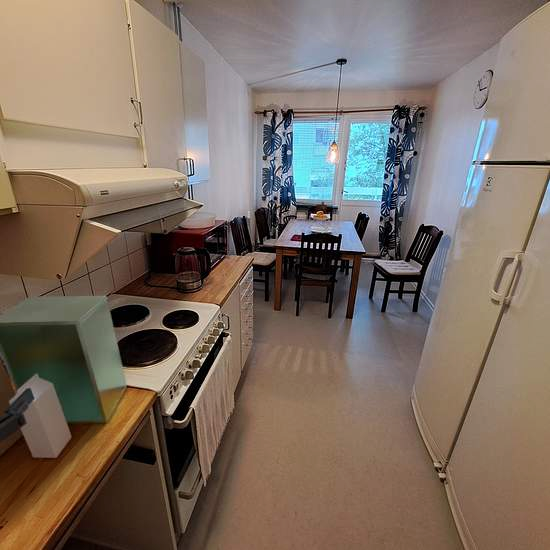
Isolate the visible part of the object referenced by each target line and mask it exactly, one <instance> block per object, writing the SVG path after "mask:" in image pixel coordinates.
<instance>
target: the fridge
mask: <svg viewBox="0 0 550 550" xmlns="http://www.w3.org/2000/svg"><path fill="white" fill-rule="evenodd" d="M0 357H1V358H2V360H3V361H2V362H3V363H4V367H6V368H5V369H6V370H7V372H8V373H7V374H8V376H9V378H10V381H11V382H12V384H13V385H12V386H13V388H14V390H15V393H17V390H18V389H19V388H20V387H22V386H23V385H24V384H25V383H26V382H27V381H28V380H29V379H31V378H32V377H33V376H34V375H35V374H38V376H39V378H41V379H44V380H46V381H49V382H51V383H53V385H54V388H55V391H56V394H57V397H58V400H59V402H60V405H61V408H62V411H63V414H64V416H65V419H66V422H67V425H80V424H82V425H83V424H103V423H104V424H105V423H108V422H109V420H110V418H111V417H112V415H113V413H114V412H115V410H116V408H117V406H118V404H119V402H120V401H121V398H122V397H123V395H124V393H125V392H126V390H127V388H128V385H127V384H128V383H127V380H126V376H125V371H124V366H123V363H122V357H121V355H120V349H119V345H118V340H117V336H116V332H115V327H114V322H113V319H112V314H111V310H110V306H109V301H108V297H107V295H64V296H63V295H61V296H60V295H58V296H57V295H56V296H54V295H53V296H29V297H27V298H26V299H24V300H22V301H21V302H18V303H17V304H16V305H14V306H13V307H11V308H9V309H8V310H6V311H4V312H2V313H1V314H0Z"/></svg>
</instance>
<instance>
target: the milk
mask: <svg viewBox="0 0 550 550" xmlns="http://www.w3.org/2000/svg"><path fill="white" fill-rule="evenodd" d="M27 388H31V390H32V393H33V396H34V398H35V399H34V400H33V401H32V402H31V403H30V404H29V405H28V406H29V407H28V409H27V410H26V411H25V412H24V413H23V414H24V416H25V419H26V421H27V423H26V424H25V425H24V426H22V427H21V428H20V429H21V431H22V433H23V435H22V436H23V438H24V440H25V442H26V444H27V447H28V449H29V451H30V453H31V456H32V457H33V458H34V459H35V458H37V459H38V458H41V459H43V458H45V459H46V458H47V459H49V458H50V459H56V458H58V457H59V455H60V454H61V452H62V451H63V450H64V448H66V446H67V445H68V443H69V441H70V440H71V439H72V434H71V431H70V427H69V424H67V422H66V419H65V416H64V414H63V411H62V408H61V405H60V402H59V400H58V397H57V394H56V391H55V388H54V385H53V383H51V382H49V381H46V380H44V379H41V378H39V376H38V374H35V375H34V376H33V377H32V378H31V379H29V380H28V381H27V382H26V383H25V384H24V385H23V386H22V387H20V388H19V389H18V390H17V392H16V393H15V394H16V395H15V396H14V397H13V398H12V399H11V400H10V401H9V404H10V405H11V404H12V403H13V402H14V401H15V400H16V399H17V398H18V397H19V396H20V395H21V394H22V393H23V392H24V391H25V390H26V389H27Z"/></svg>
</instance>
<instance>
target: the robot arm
mask: <svg viewBox="0 0 550 550" xmlns="http://www.w3.org/2000/svg"><path fill="white" fill-rule="evenodd" d="M34 399H35V398H34V396H33V393H32V390H31V388H27V389H26V390H25V391H24V392H23V393H22V394H21V395H20V396H19V397H18V398H17V399H16V400H15V401H14V402H13V403H12V404H11V405H10V406H9V407H8V408H7V409H6V410H5V414H4V415H2V416H1V417H0V442H2V441H3V440H5V439H6V438H7V437H9V436H10V435H11V434H13V433H14V432H16V431H17V430H18V429H20V428H21V427H22V426H24V425H25V424H26V423H27V421H26V419H25V416H24V414H23V413H24V412H25V411H26V410H27V409H28V407H29V406H28V405H29V404H30V403H31V402H32V401H33V400H34Z"/></svg>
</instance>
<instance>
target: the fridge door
mask: <svg viewBox="0 0 550 550" xmlns="http://www.w3.org/2000/svg"><path fill="white" fill-rule="evenodd" d="M1 358H2V357H0V417H1V416H2V415H4V414H5V410H6V409H7V408H8V407H9V406H10V404H9V401H10V400H11V399H12V398H13V397H14V396H15V395H16V394H17V393H16V390H15V388H14V386H13V385H12V384H13V383H11V382H12V381H11V379H10V376H9V374H8V373H7V371H6V370H7V369H6V368H5V365H4V364H3V363H4V362H3V361H2V359H1ZM23 436H24V435H23V433H22V431H21V429H18V430H17V431H16V432H14V433H13V434H11V435H10V436H9V437H7V438H6V439H5V440H3V441H2V442H0V457H1V456H2V455H3V454H4V453H6V451H7V450H8V449H10V448H11V447H12V446H13V445H14V444H15V443H16V442H17V441H18V440H19V439H21V438H22V437H23Z"/></svg>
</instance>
